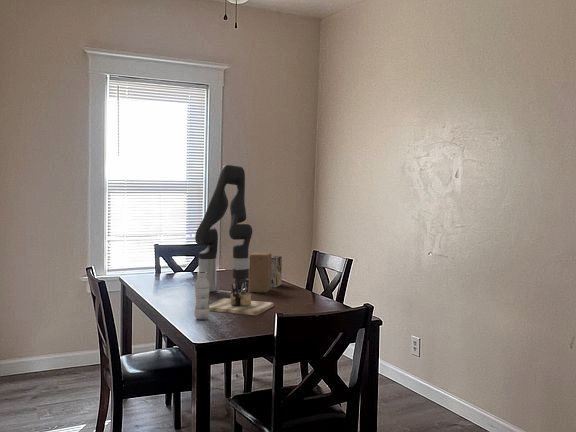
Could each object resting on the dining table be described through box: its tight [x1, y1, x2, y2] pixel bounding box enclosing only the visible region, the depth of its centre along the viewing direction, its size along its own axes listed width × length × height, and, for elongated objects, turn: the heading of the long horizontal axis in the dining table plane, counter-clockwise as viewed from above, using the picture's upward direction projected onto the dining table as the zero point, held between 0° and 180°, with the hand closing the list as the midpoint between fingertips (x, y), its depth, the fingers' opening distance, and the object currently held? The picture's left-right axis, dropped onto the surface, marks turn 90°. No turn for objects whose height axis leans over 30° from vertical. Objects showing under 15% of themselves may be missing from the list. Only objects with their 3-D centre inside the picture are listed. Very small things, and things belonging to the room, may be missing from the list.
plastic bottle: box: [193, 271, 211, 321], centre depth 247 cm, size 6×7×20 cm
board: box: [209, 297, 274, 316], centre depth 269 cm, size 26×20×2 cm
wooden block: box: [248, 251, 273, 294], centre depth 308 cm, size 10×10×20 cm
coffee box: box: [271, 255, 283, 288], centre depth 323 cm, size 9×6×16 cm
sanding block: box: [230, 293, 252, 306], centre depth 268 cm, size 8×5×4 cm, turn 69°
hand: (240, 303), depth 269 cm, fingers closed on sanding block, 5 cm apart
